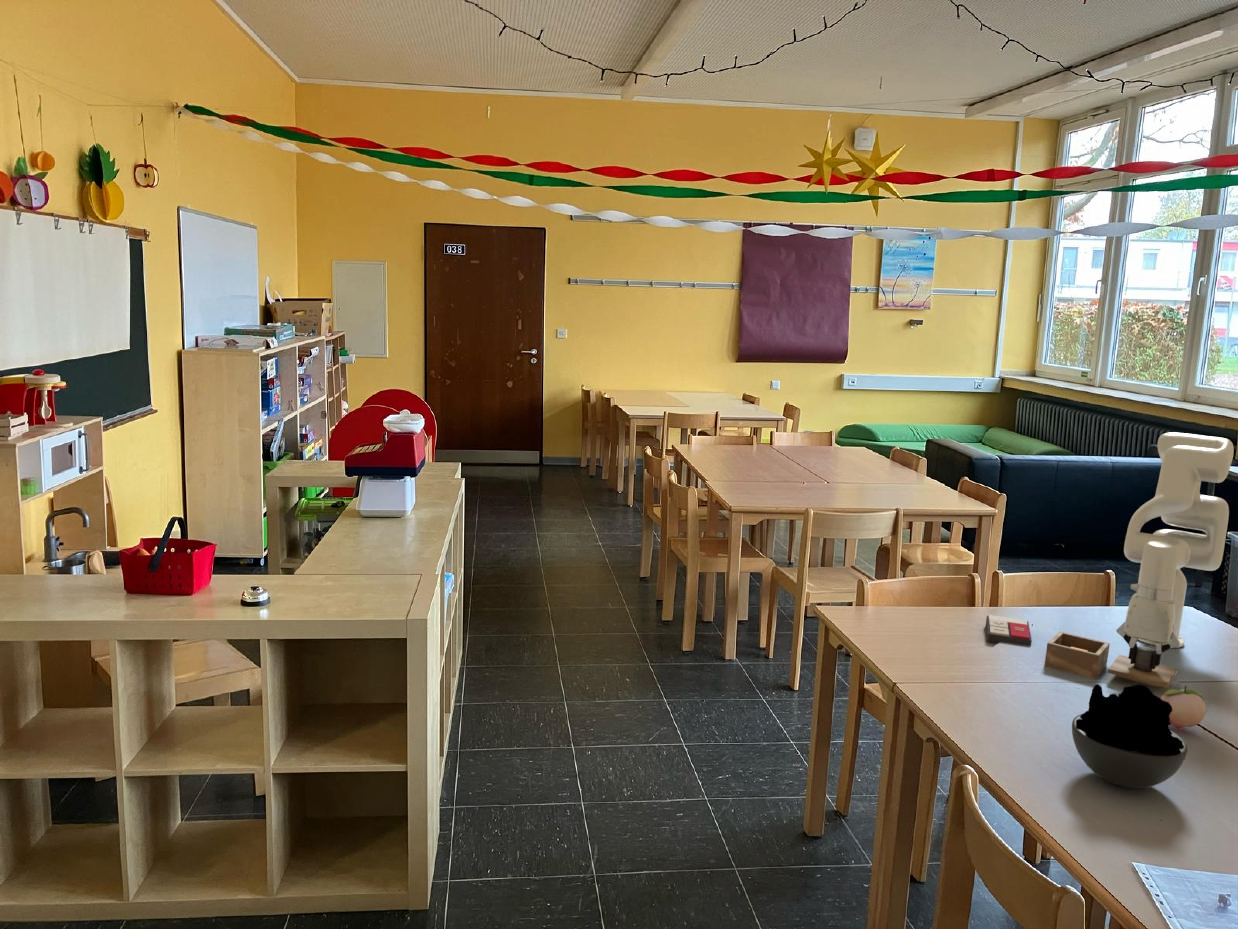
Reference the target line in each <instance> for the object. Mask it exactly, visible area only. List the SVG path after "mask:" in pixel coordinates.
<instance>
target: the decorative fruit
mask: <svg viewBox="0 0 1238 929" xmlns="http://www.w3.org/2000/svg"><path fill="white" fill-rule="evenodd" d="M1203 698H1204V695H1203V694H1202V693H1200V692H1199V691H1197V690H1195V689H1187V685H1185V686H1184V689H1178V690H1177V689H1171V690H1168V691H1167V692H1165V693H1164V694H1163V695H1162V697H1161V699H1162V700H1163V701H1166V702H1169V704H1170V705H1171V706H1172V709H1173V710H1172V712H1171V713H1170V715H1169V717H1170V723H1171V724H1170V725H1171V727H1173V728H1175V729H1178V730H1180V729H1183V728H1190V727H1191V728H1192V727H1195V726H1197V725H1199V724H1200V723H1201V722H1202V721H1203V720H1204V718H1205V716H1206V713H1207V706H1206V703H1205V702H1204V700H1203Z"/></svg>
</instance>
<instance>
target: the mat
mask: <svg viewBox="0 0 1238 929" xmlns="http://www.w3.org/2000/svg"><path fill="white" fill-rule="evenodd" d="M1100 683H1101V684H1104V685H1105V684H1106V685H1110V686H1114V687H1118V688H1121V689H1124V687H1131V686H1135V685H1142V686H1146V687H1147V688H1148V689H1149V690H1150V691H1151V692H1152V693H1153V694H1154V695H1155V696H1157V697H1159V698H1161V697H1162V695H1163V694H1164V693H1165V692H1167V691H1168V690H1171V689H1177V690H1179V688H1180V686H1181V682H1180V681H1178V680H1174V679H1172V681H1171V682H1170V684H1169V686H1168V687H1167V688H1166V687H1162V686H1159V687H1156V686H1152V685H1148V684H1144V683H1140V682H1137V681H1133V680H1129V679H1125V678H1121V677H1117V675H1115V674H1111V673H1106V675H1105V676H1104V678H1103V679H1102V680H1101V681H1100Z"/></svg>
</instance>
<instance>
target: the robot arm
mask: <svg viewBox="0 0 1238 929" xmlns="http://www.w3.org/2000/svg"><path fill="white" fill-rule="evenodd" d="M1234 449H1235V447H1234V444H1233V442H1232V441H1231V440H1230V439H1228V438H1224V437H1219V436H1212V435H1210V436H1209V435H1202V434H1194V433H1187V432H1186V433H1184V432H1165V433H1162V434H1161V435H1160V436H1159V437H1158V440H1157V451H1158V455H1159V457H1160V461H1161V467H1160V471H1159V478H1158V482H1157V486H1156V490H1155V495H1154V497H1153V498H1151V499H1150V500H1148V501H1146V502H1144V504H1142V505H1141V506H1139V508H1138V509H1136V511H1135V512H1134V513H1133V515H1132V516H1131V518H1130V521H1129V523H1128V526H1127V530H1126V531H1127V532H1126V534H1125V538H1124V539H1125V540H1124V545H1123V553H1124V556H1125V558H1127V560H1129V561H1130V562H1133V563H1137V564H1138V563H1140V567H1139V568H1140V569H1139V574H1138V581H1137V582H1138V583H1131V584H1130V589H1131V590H1133V591H1135V593H1134V594H1132V596H1131V597H1130V601H1129V604H1128V608H1127V610H1126V612H1127V613H1126V616H1125V621H1124V622H1123V623H1122V624H1121V625H1120V626H1119V627H1118V628H1116V629H1115V632H1116V633H1117V634H1118V635H1119V636H1121V638H1122V639H1123V640H1124V641H1125V642H1126V644H1127V645H1128V647H1129V652H1128V657H1129V659H1131V662H1130V664H1134V662H1135V655H1136V648H1137V647H1138V644H1137V643H1138V641H1140V642H1142V643H1145V644H1148V645H1151V646H1155V649H1154V650H1155V652H1154V653H1153V658H1152V665H1151V668H1152V669H1155V668H1156V666H1159V665H1161V659H1162V658H1161V657H1162V653H1164V652H1166V651H1168V650H1170V649H1178V648H1182V647H1183V646H1185V640H1184V639H1183V637H1181V636H1180V631H1181V626H1182V624H1181V623H1182V617H1183V611H1184V605H1185V599H1186V593H1187V587H1188V582H1187V578H1186V576H1185V574H1184V573H1183V571H1182V570H1181V569H1182V568H1188V569H1195V570H1202V571H1208V572H1209V571H1210V572H1213V571H1216V570H1217V569H1219V568H1220V566H1221V564H1222V561H1223V557H1224V551H1225V543H1226V539H1227V537H1226V536H1227V530H1228V524H1229V516H1230V508H1229V504H1228V503H1227V501H1226V500H1225V499H1223V498H1222V497H1218V496H1212V495H1205V494H1201V492H1200V490H1201V485H1202V482H1207V483H1214V484H1215V483H1217V484H1220V483H1223V482H1224V481H1225V479H1227V477H1228V474H1229V472H1230V469H1231V466H1232V462H1233V458H1234ZM1159 517H1160V518H1161V520H1162V522H1163V523H1165V524H1166V525H1169V526H1172V527H1177V528H1184V529H1191V530H1195V531H1196V530H1197V531H1202V532H1204V533H1205V534H1201V533H1196V532H1195V533H1194V532H1189V531H1184V530H1178V529H1171V528H1170V529H1169V528H1163V529H1158V530H1156V531H1154V532H1153V533H1146V532H1141V529H1142V527H1143V526H1144V524H1146V523H1148V522H1150V521H1151V520H1153V519H1155V518H1159Z"/></svg>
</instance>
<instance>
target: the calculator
mask: <svg viewBox="0 0 1238 929" xmlns="http://www.w3.org/2000/svg"><path fill="white" fill-rule="evenodd" d="M985 634H986V643H988V644H991V645H998V644H999V643H1001V642H1002V643H1009V644H1015V645H1023V646H1028V647H1030V646H1032V636H1031V631H1030V624H1029V621H1028V620H1026V619H1022V618H1021V619H1020V618H1014V617H1005V616H999V615H998V616H997V615H992V614H988V615H986V620H985Z"/></svg>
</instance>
